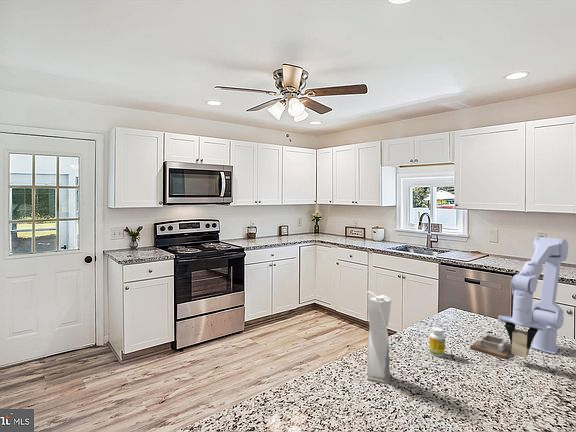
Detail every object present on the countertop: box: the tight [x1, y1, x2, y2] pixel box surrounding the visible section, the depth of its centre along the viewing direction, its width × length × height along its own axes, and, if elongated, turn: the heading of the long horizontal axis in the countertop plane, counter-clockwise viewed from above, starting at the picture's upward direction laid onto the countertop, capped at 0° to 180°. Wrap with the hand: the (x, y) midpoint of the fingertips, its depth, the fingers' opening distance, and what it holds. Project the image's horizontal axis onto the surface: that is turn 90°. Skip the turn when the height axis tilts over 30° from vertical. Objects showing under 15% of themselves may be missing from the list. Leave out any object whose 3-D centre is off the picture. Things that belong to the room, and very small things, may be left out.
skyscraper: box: [366, 290, 392, 385], centre depth 117 cm, size 8×8×28 cm
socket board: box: [469, 333, 512, 360], centre depth 140 cm, size 14×12×4 cm
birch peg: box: [510, 328, 530, 359], centre depth 128 cm, size 4×4×8 cm
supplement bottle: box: [428, 326, 446, 358], centre depth 135 cm, size 5×5×10 cm
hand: (520, 345), depth 128 cm, fingers closed on birch peg, 4 cm apart
